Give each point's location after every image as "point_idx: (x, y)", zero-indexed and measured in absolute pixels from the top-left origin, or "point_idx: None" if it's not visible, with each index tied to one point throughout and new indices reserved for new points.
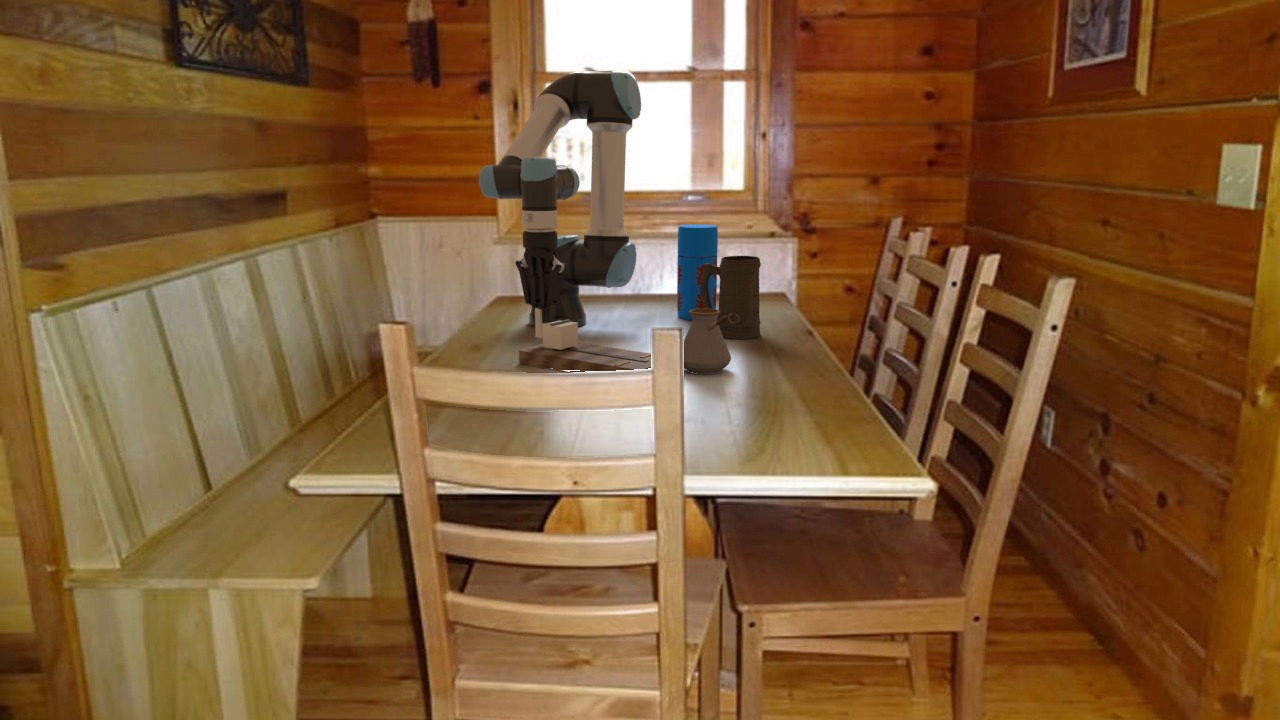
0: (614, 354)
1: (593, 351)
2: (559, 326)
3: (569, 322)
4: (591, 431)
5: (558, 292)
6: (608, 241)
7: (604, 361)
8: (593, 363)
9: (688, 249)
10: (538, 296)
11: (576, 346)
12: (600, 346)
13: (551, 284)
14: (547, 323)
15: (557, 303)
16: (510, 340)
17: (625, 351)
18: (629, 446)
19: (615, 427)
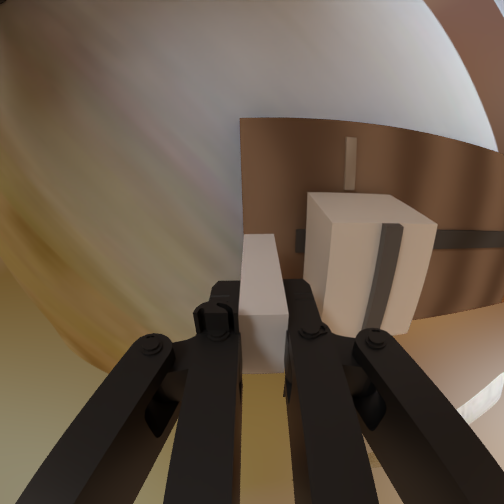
0: (492, 219)
1: (448, 219)
2: (400, 329)
3: (404, 242)
4: (472, 407)
5: (437, 405)
6: None
7: (486, 287)
8: (470, 308)
9: None
10: (238, 413)
11: (376, 186)
12: (437, 144)
13: (417, 495)
14: (324, 320)
15: (391, 338)
16: (21, 120)
17: (501, 173)
18: (493, 401)
19: (488, 391)
